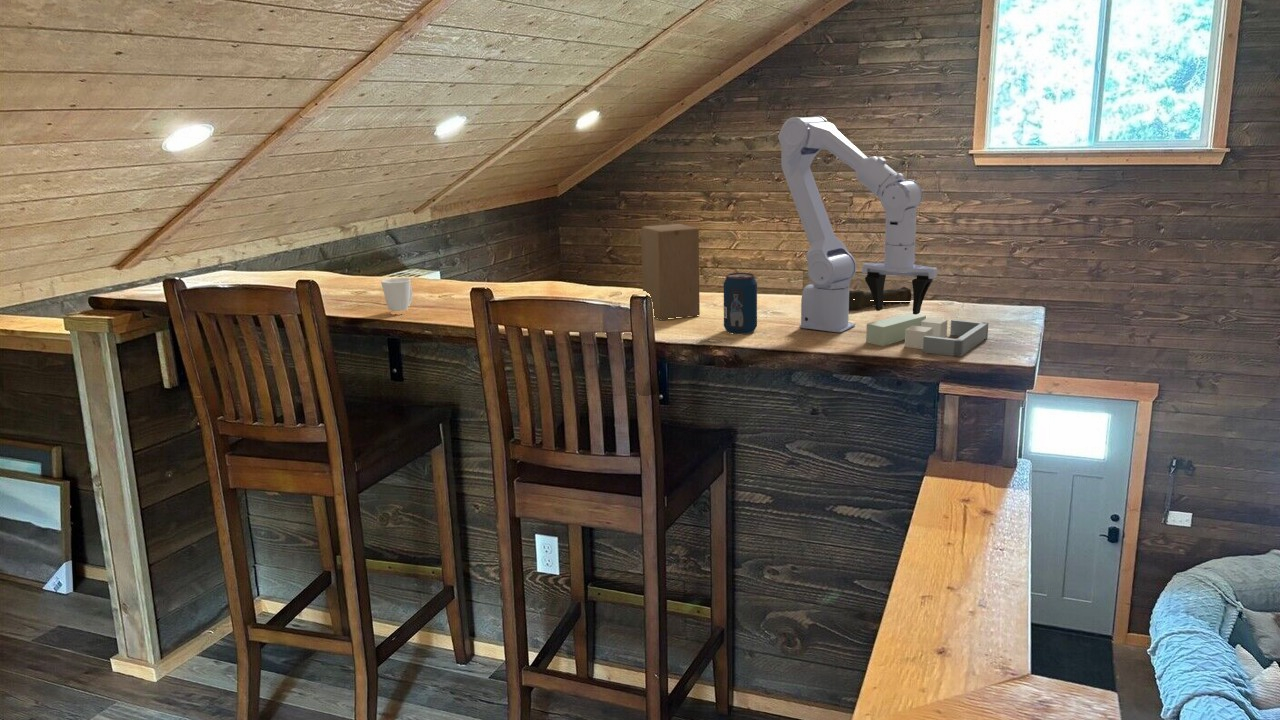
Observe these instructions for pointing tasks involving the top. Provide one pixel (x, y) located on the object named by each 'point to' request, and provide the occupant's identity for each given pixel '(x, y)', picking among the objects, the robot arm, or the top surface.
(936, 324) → the block
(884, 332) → the sage green beam
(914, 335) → the block
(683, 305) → the wooden block
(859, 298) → the hand tool
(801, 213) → the robot arm
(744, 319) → the soda can
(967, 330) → the grey frame
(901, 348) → the top surface
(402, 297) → the cup
